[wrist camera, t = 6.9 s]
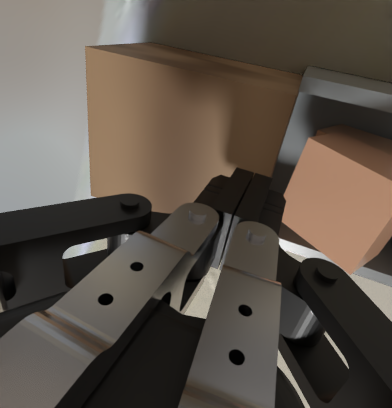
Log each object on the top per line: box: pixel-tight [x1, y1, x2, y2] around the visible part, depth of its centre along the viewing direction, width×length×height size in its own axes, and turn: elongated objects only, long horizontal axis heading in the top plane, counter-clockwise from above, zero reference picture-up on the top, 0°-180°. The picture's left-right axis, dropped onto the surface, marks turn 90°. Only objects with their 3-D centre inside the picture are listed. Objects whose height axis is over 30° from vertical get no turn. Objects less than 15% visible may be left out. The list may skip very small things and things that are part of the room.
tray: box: [270, 66, 392, 287], centre depth 15 cm, size 8×8×4 cm
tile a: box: [282, 132, 392, 275], centre depth 13 cm, size 4×4×2 cm
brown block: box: [85, 42, 303, 213], centre depth 16 cm, size 9×8×6 cm
